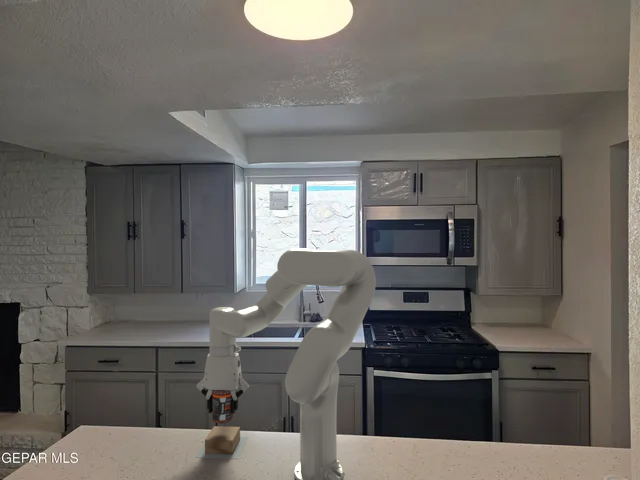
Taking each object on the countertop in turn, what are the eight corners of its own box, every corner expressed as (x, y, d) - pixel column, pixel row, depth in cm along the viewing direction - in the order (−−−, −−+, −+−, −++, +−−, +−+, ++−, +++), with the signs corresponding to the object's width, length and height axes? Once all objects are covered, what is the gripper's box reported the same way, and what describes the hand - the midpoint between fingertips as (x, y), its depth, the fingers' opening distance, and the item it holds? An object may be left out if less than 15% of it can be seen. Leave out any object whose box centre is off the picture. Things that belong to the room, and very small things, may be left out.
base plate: (248, 440, 121) (248, 437, 121) (237, 462, 109) (237, 458, 109) (209, 439, 122) (209, 435, 122) (195, 461, 110) (195, 457, 110)
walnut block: (240, 440, 119) (240, 426, 119) (232, 454, 111) (232, 440, 111) (214, 439, 120) (214, 426, 120) (204, 453, 112) (204, 439, 112)
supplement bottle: (227, 425, 112) (227, 385, 112) (208, 423, 113) (208, 384, 113) (236, 416, 118) (236, 378, 118) (217, 414, 119) (218, 376, 119)
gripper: (254, 347, 118) (254, 407, 119) (198, 346, 120) (198, 405, 120) (248, 354, 111) (248, 418, 111) (188, 353, 112) (188, 416, 112)
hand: (222, 411), depth 115 cm, fingers closed on supplement bottle, 6 cm apart
